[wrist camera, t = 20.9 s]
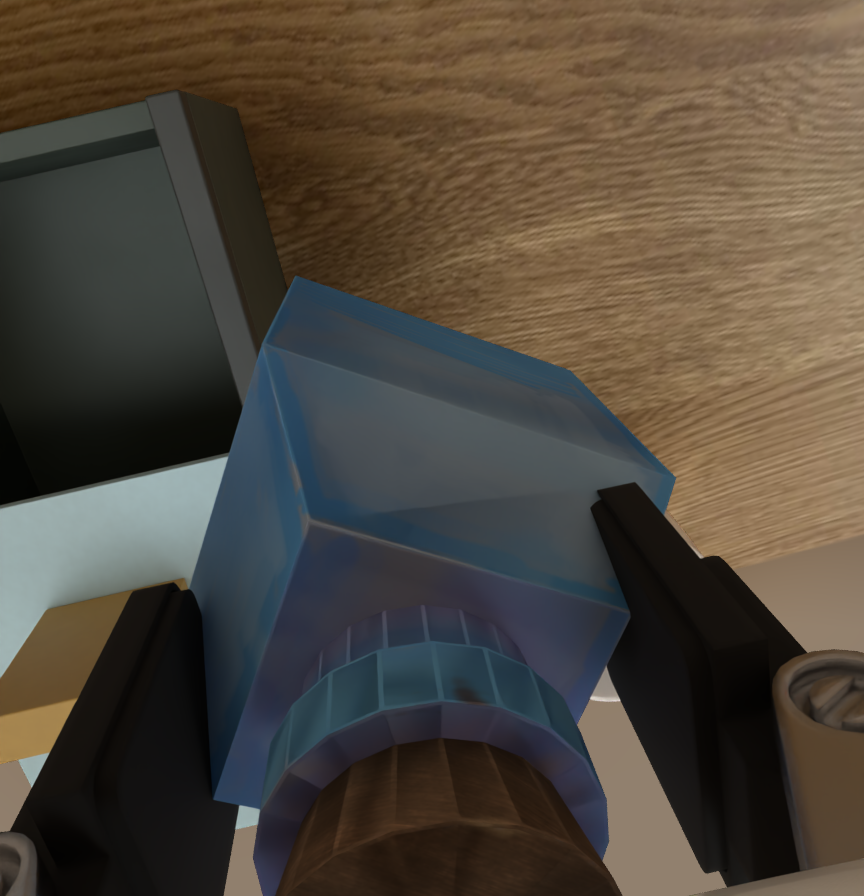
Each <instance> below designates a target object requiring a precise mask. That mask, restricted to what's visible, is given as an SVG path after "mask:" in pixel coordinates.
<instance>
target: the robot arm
mask: <svg viewBox="0 0 864 896" xmlns="http://www.w3.org/2000/svg"><path fill="white" fill-rule="evenodd" d="M597 492H598V494H599V497H600V498H601V499H600V500H599V501H597V502H595V503H594V504H593V505H592V506H591V507H590V509H591V512H592V514H593V517H594V519H595V522H596V525H597V527H598V530H599V532H600V535H601V538H602V540H603V543H604V546H605V548H606V551H607V553H608V556H609V559H610V561H611V564H612V566H613V569H614V572H615V574H616V577H617V579H618V582H619V585H620V587H621V590H622V592H623V595H624V598H625V600H626V603H627V606H628V608H629V611H630V616H631V618H630V620H629V622H628V624H627V626H626V628H625V630H624V632H623V634H622V636H621V638H620V640H619V642H618V644H617V646H616V648H615V650H614V652H613V654H612V656H611V658H610V660H609V662H608V664H607V670H608V673H609V676H610V679H611V682H612V684H613V686H614V688H615V690H616V692H617V694H618V696H619V698H620V701H621V703H622V705H623V707H624V708H625V711H626V713H627V715H628V717H629V719H630V721H631V723H632V725H633V727H634V730H635V732H636V734H637V736H638V738H639V740H640V742H641V744H642V746H643V748H644V750H645V753H646V755H647V757H648V759H649V761H650V763H651V765H652V767H653V769H654V771H655V773H656V775H657V777H658V780H659V781H660V784H661V786H662V788H663V790H664V792H665V794H666V796H667V798H668V800H669V802H670V804H671V807H672V809H673V811H674V813H675V815H676V817H677V819H678V821H679V823H680V825H681V827H682V830H683V832H684V834H685V836H686V838H687V840H688V842H689V844H690V846H691V848H692V850H693V852H694V854H695V857H696V859H697V860H698V863H699V864H700V867H701V868H702V870H703V871H704V872H705V873H711V872H716V871H719V872H720V874H721V876H722V878H723V880H724V882H725V884H726V886H727V888H722V889H718V890H713V891H709V892H704V893H699V894H695V895H690V896H864V653H862V652H858V651H848V650H835V649H834V650H823V651H813V652H809V653H807V652H806V651H805V650H804V649H803V648H802V646H801V645H800V644H799V643H798V642H797V641H796V640H795V639H794V637H793V636H792V635H791V634H790V633H789V632H788V631H787V630H786V629H785V627H784V626H783V625H782V624H781V623H780V622H779V621H778V620H777V619H776V617H775V616H774V615H773V614H772V613H771V612H770V611H769V610H768V609H767V607H765V605H764V604H763V603H762V602H761V601H760V600H759V598H758V597H757V596H756V595H755V594H754V593H753V592H752V591H751V590H750V588H749V587H748V586H747V585H746V584H745V583H744V582H743V581H742V580H741V578H740V577H739V576H738V575H737V574H736V573H735V572H734V571H733V570H732V568H731V567H730V566H729V565H728V564H727V563H726V562H725V561H724V560H723V559H722V558H721V557H719V556H710V557H705V558H699V556H698V555H697V554H696V553H695V552H694V550H693V549H692V548H691V547H690V546H689V545H688V543H687V542H686V541H685V540H684V539H683V537H682V536H681V535H680V534H679V533H678V531H677V530H676V529H675V528H674V527H673V526H672V524H671V523H670V522H669V521H668V520H667V518H666V517H665V516H664V515H663V514H662V513H661V511H660V510H659V509H658V508H657V507H656V505H655V504H654V503H653V502H652V501H651V499H650V498H649V497H648V496H647V495H646V494H645V492H644V491H643V490H642V489H641V488H640V486H639V485H638V484H637V483H635V482H632V483H627V484H623V485H618V486H613V487H609V488H604V489H600V490H597ZM238 811H239V805H236V804H232V803H227V802H222V801H217V800H213V799H212V782H211V765H210V747H209V730H208V713H207V695H206V678H205V661H204V644H203V626H202V614H201V611H200V609H199V606H198V603H197V600H196V598H195V595H194V593H193V592H192V590H190V589H186V590H182V591H181V590H180V588H179V587H178V585H177V584H175V583H174V582H172V583H167V584H162V585H158V586H153V587H149V588H144V589H139V590H135V591H133V592H132V593H131V594H130V596H129V598H128V600H127V602H126V604H125V606H124V608H123V610H122V612H121V614H120V616H119V618H118V620H117V622H116V624H115V626H114V628H113V630H112V632H111V634H110V636H109V638H108V640H107V642H106V644H105V646H104V648H103V650H102V652H101V654H100V656H99V658H98V660H97V661H96V663H95V665H94V667H93V669H92V671H91V673H90V675H89V677H88V679H87V681H86V683H85V685H84V687H83V689H82V691H81V693H80V695H79V697H78V699H77V701H76V702H75V704H74V706H73V708H72V710H71V712H70V714H69V716H68V718H67V720H66V721H65V723H64V725H63V727H62V729H61V731H60V733H59V735H58V737H57V739H56V741H55V743H54V745H53V747H52V749H51V751H50V753H49V755H48V757H47V759H46V761H45V763H44V765H43V767H42V769H41V771H40V773H39V775H38V777H37V779H36V781H35V782H34V784H33V786H32V789H31V790H30V793H29V795H28V796H27V798H26V800H25V802H24V804H23V806H22V808H21V810H20V812H19V814H18V816H17V818H16V820H15V822H14V824H13V826H12V828H11V830H10V831H8V832H0V896H223V895H224V889H225V884H226V879H227V873H228V867H229V861H230V856H231V850H232V844H233V839H234V834H235V828H236V822H237V817H238Z"/></svg>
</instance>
